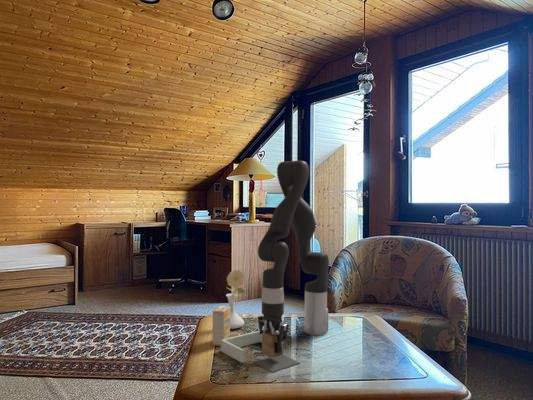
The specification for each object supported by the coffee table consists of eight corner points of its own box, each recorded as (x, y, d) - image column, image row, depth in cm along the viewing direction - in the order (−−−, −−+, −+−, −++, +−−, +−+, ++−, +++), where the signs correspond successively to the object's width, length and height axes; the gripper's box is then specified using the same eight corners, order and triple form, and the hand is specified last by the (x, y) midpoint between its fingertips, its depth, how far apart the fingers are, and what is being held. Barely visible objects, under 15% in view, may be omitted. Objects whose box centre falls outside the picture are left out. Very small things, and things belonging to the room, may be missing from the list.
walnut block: (273, 350, 139) (273, 329, 139) (282, 354, 135) (282, 333, 135) (261, 353, 136) (262, 332, 136) (271, 357, 132) (271, 336, 132)
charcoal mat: (280, 354, 141) (280, 353, 141) (299, 363, 134) (299, 362, 134) (253, 362, 134) (253, 361, 134) (272, 372, 126) (272, 371, 126)
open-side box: (260, 340, 155) (260, 330, 155) (283, 350, 145) (283, 339, 145) (220, 351, 144) (220, 339, 144) (242, 362, 133) (242, 350, 134)
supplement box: (224, 346, 148) (224, 311, 149) (211, 345, 149) (212, 310, 150) (230, 339, 157) (230, 305, 157) (218, 338, 158) (219, 305, 158)
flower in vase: (212, 327, 171) (213, 269, 171) (229, 321, 180) (230, 266, 181) (236, 333, 163) (236, 272, 164) (252, 326, 173) (253, 269, 173)
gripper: (295, 302, 132) (294, 354, 132) (268, 294, 143) (267, 342, 143) (277, 306, 128) (277, 359, 127) (251, 297, 139) (250, 346, 139)
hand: (272, 350), depth 135 cm, fingers closed on walnut block, 5 cm apart
